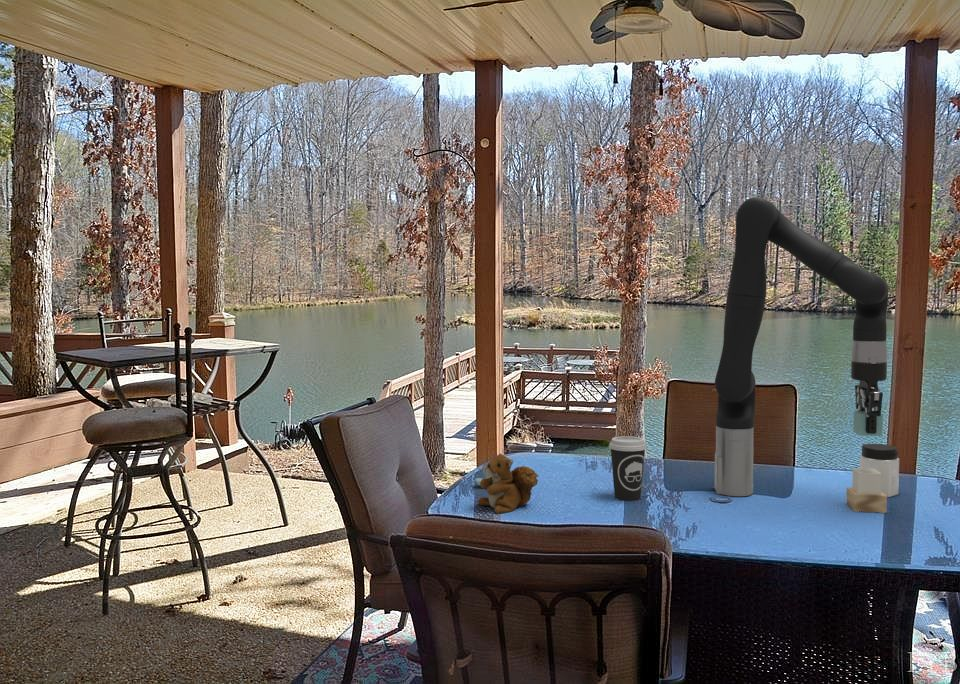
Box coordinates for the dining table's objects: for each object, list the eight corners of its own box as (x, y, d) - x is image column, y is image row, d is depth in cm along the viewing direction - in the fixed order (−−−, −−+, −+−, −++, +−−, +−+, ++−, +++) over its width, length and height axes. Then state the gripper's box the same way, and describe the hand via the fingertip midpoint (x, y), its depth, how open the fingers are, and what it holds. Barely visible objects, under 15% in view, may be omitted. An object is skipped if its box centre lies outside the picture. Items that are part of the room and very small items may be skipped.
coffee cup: (650, 494, 198) (650, 437, 197) (641, 504, 190) (642, 444, 189) (614, 490, 202) (614, 434, 201) (604, 500, 194) (604, 441, 193)
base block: (854, 511, 181) (854, 494, 181) (846, 503, 188) (846, 487, 188) (886, 512, 180) (886, 496, 180) (877, 504, 187) (877, 488, 186)
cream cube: (858, 493, 182) (858, 473, 181) (852, 488, 187) (852, 468, 186) (881, 494, 181) (881, 473, 180) (874, 489, 186) (875, 468, 185)
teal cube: (859, 435, 181) (859, 414, 180) (853, 431, 186) (853, 411, 185) (882, 435, 180) (882, 414, 179) (875, 431, 185) (876, 411, 184)
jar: (884, 499, 191) (885, 451, 190) (853, 492, 198) (854, 446, 197) (904, 493, 196) (905, 447, 195) (872, 487, 203) (873, 442, 202)
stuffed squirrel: (474, 504, 191) (473, 452, 191) (525, 498, 197) (525, 447, 196) (490, 515, 182) (489, 460, 181) (543, 508, 188) (542, 455, 187)
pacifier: (483, 484, 213) (473, 488, 207) (483, 461, 212) (473, 465, 207) (507, 486, 209) (497, 491, 204) (507, 464, 209) (497, 468, 204)
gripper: (843, 357, 189) (842, 425, 190) (860, 362, 175) (858, 436, 176) (877, 357, 188) (875, 426, 189) (896, 362, 174) (894, 437, 175)
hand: (867, 430), depth 183 cm, fingers closed on teal cube, 5 cm apart
